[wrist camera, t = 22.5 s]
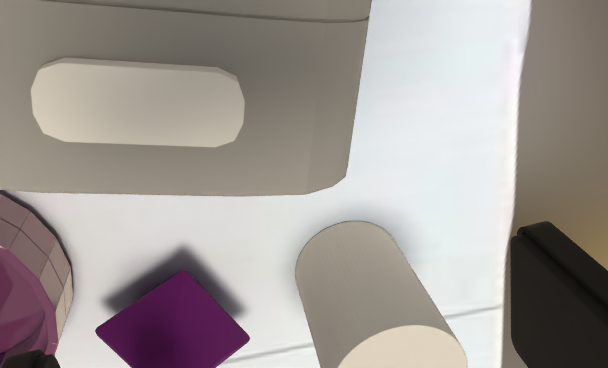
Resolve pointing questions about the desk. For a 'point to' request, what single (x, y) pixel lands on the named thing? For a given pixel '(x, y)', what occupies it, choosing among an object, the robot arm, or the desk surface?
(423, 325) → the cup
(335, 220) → the desk surface
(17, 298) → the bowl
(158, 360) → the perfume bottle
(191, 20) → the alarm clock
